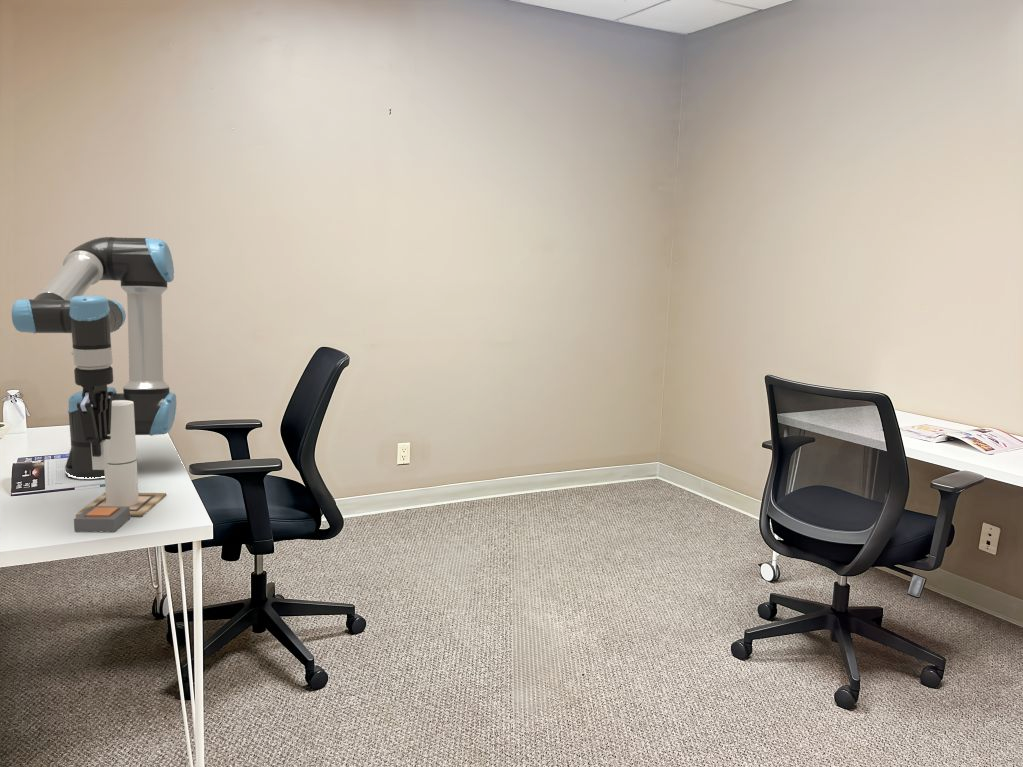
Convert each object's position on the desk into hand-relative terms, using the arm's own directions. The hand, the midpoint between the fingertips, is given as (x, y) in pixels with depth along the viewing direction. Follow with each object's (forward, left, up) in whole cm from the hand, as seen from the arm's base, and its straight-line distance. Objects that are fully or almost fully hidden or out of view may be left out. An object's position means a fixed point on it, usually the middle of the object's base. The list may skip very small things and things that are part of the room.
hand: (100, 468), depth 178 cm
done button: (0, 0, -13) cm, 13 cm away
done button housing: (0, 0, -13) cm, 13 cm away
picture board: (-13, -1, -13) cm, 19 cm away
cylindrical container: (-13, -1, -13) cm, 18 cm away
